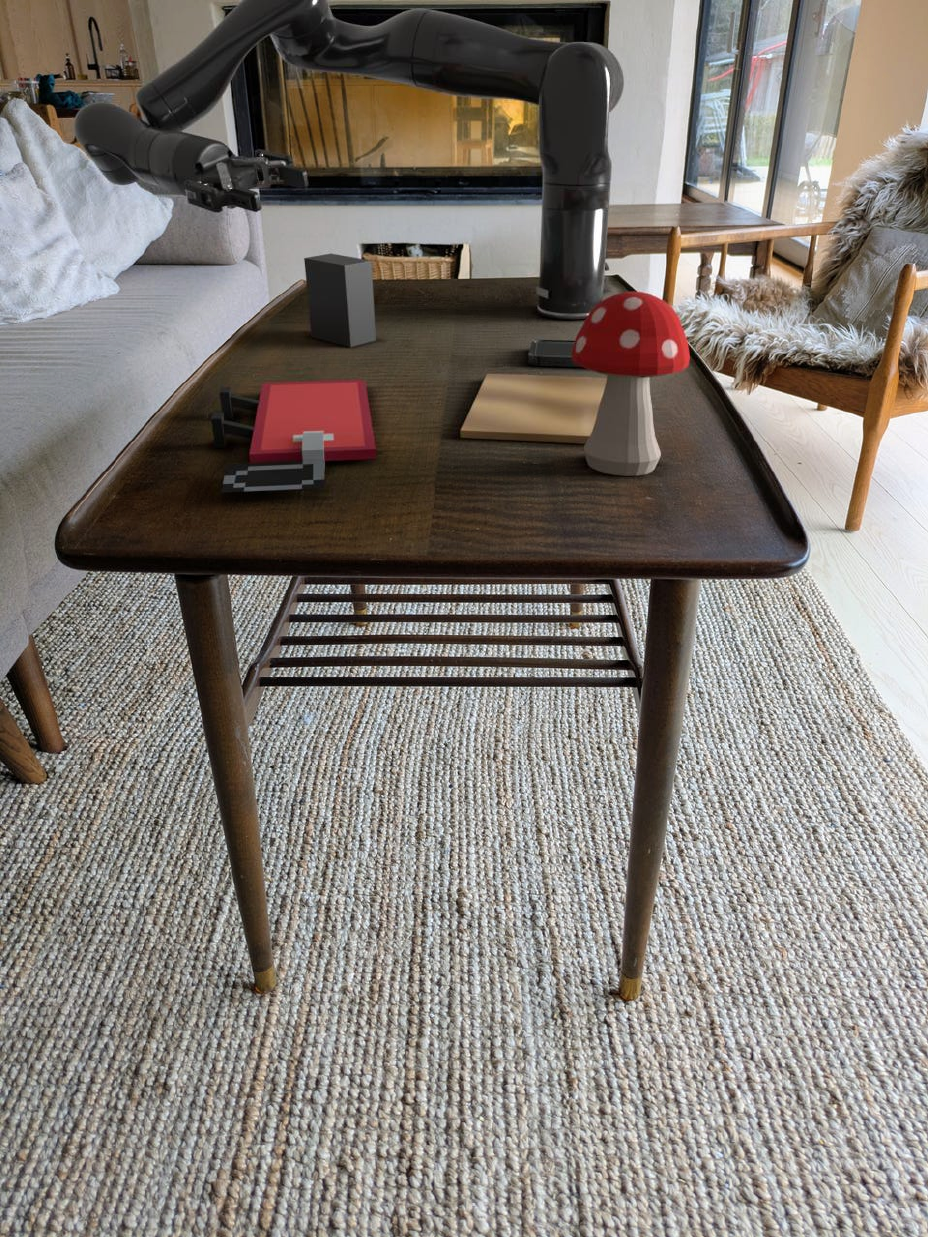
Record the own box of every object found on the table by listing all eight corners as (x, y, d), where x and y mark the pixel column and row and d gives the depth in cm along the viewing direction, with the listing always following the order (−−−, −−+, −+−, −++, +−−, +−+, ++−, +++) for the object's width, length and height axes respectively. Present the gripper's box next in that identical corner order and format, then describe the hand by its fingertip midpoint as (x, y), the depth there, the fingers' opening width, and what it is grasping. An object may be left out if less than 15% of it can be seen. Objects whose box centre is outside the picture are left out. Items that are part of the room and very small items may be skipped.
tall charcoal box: (311, 336, 121) (303, 257, 116) (338, 330, 124) (331, 253, 119) (350, 347, 116) (344, 265, 111) (377, 340, 119) (372, 260, 114)
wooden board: (487, 380, 104) (487, 373, 103) (636, 385, 101) (637, 378, 101) (460, 437, 88) (460, 430, 87) (637, 446, 85) (638, 438, 85)
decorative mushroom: (554, 475, 79) (562, 299, 72) (578, 442, 86) (588, 278, 78) (668, 490, 76) (689, 307, 69) (683, 454, 83) (704, 285, 76)
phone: (532, 339, 114) (653, 342, 112) (532, 348, 115) (652, 351, 113) (527, 356, 108) (655, 359, 106) (527, 365, 108) (654, 369, 106)
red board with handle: (198, 504, 74) (381, 495, 76) (193, 471, 73) (380, 463, 75) (229, 396, 100) (365, 392, 102) (226, 371, 98) (364, 367, 100)
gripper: (237, 178, 125) (325, 202, 118) (159, 214, 117) (247, 241, 110) (226, 119, 120) (316, 141, 113) (142, 152, 112) (234, 177, 105)
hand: (282, 190), depth 112 cm, fingers open, 8 cm apart
